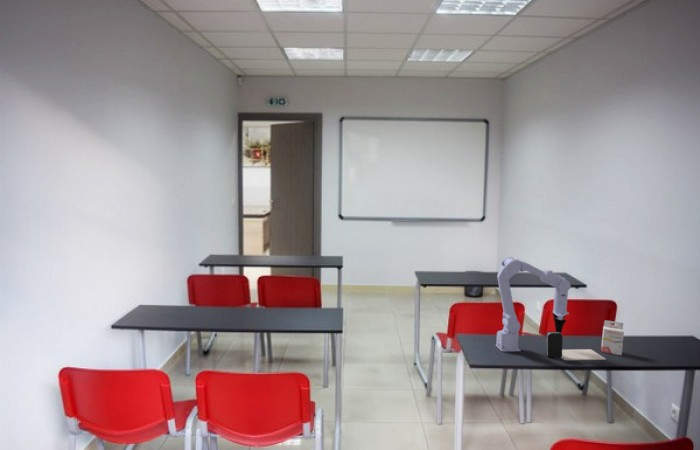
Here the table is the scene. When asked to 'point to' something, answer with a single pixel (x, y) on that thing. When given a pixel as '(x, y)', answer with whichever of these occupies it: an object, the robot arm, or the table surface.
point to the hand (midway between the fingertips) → (558, 330)
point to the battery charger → (554, 344)
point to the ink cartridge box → (612, 338)
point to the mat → (581, 355)
